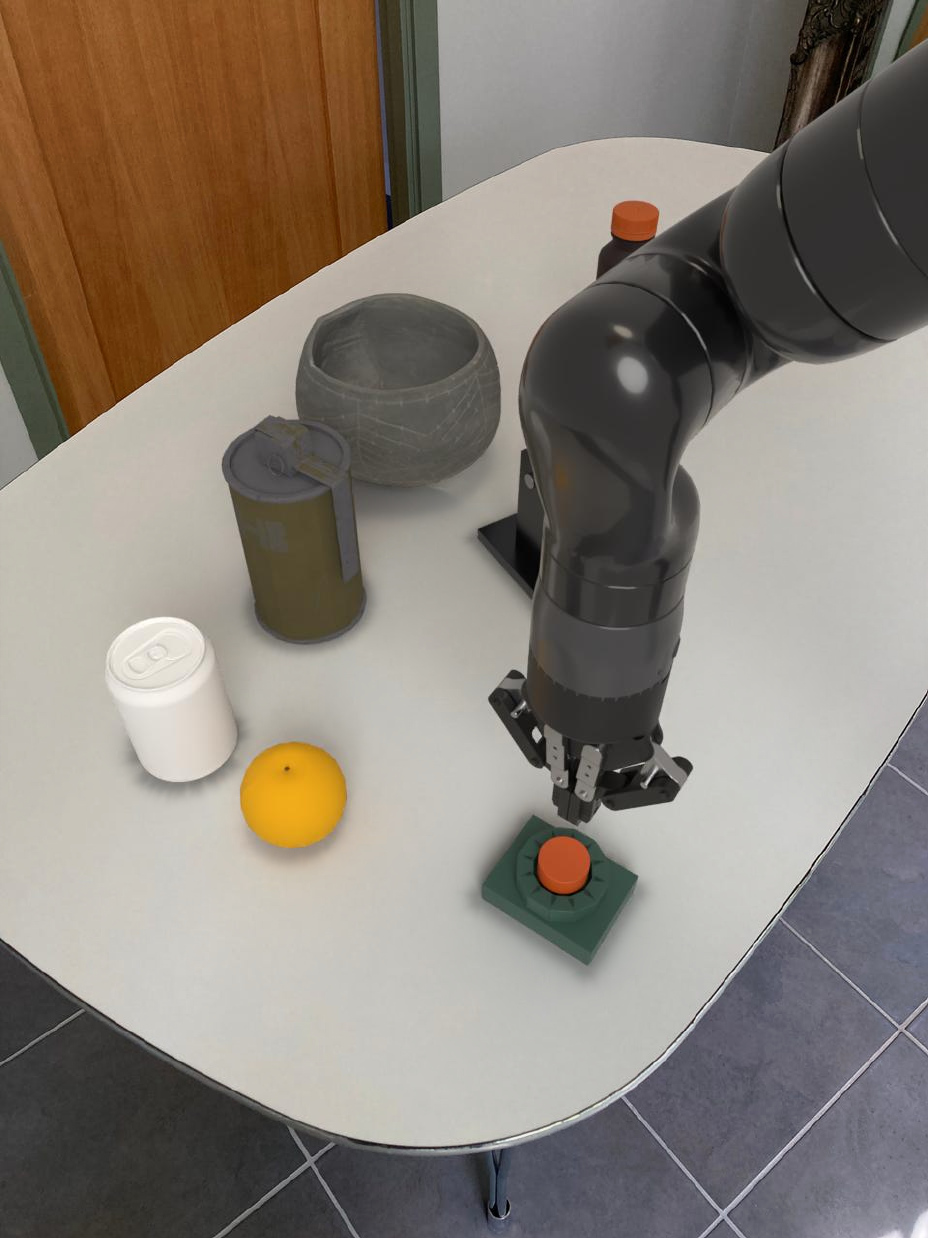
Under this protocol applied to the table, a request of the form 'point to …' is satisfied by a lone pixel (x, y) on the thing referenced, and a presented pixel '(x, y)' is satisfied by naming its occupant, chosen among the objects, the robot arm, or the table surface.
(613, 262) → the bottle
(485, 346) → the bowl
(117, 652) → the beverage can
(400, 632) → the table surface
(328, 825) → the orange
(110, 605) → the table surface
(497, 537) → the bracket
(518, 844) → the button box
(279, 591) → the canister
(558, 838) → the button
